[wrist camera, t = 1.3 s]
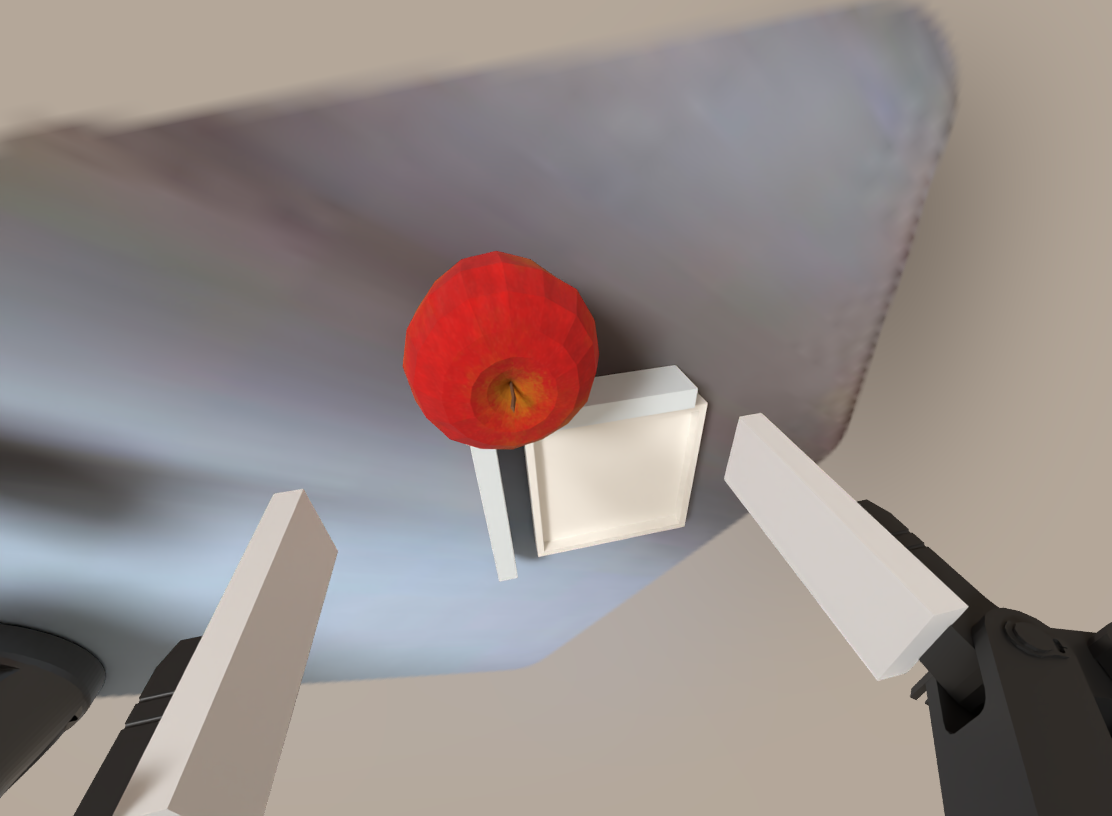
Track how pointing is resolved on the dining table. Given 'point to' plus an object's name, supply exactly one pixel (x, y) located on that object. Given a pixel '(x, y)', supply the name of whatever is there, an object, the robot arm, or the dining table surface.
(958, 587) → the robot arm
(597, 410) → the pen walls
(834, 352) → the dining table surface
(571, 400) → the apple
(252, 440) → the dining table surface
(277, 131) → the dining table surface
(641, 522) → the dish
